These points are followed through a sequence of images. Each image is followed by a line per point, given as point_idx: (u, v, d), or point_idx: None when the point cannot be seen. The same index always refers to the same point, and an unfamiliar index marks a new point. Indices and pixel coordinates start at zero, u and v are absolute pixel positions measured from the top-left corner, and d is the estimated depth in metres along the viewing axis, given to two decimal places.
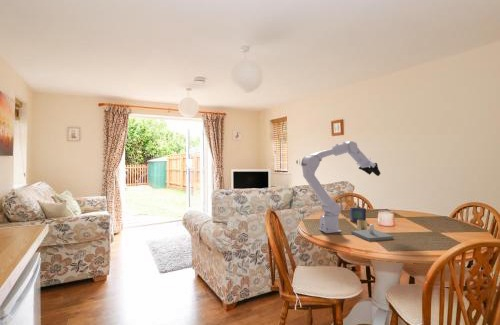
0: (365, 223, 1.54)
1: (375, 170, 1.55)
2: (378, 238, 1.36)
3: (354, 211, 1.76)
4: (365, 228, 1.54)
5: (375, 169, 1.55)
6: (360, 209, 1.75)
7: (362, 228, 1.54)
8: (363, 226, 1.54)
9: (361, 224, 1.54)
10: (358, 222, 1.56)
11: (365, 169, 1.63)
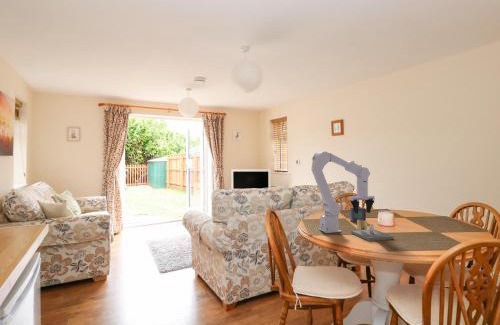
0: (365, 223, 1.54)
1: (355, 206, 1.55)
2: (378, 238, 1.36)
3: None
4: (365, 228, 1.54)
5: (355, 206, 1.55)
6: (360, 209, 1.75)
7: (362, 228, 1.54)
8: (363, 226, 1.54)
9: (361, 224, 1.54)
10: (358, 222, 1.56)
11: (367, 204, 1.58)
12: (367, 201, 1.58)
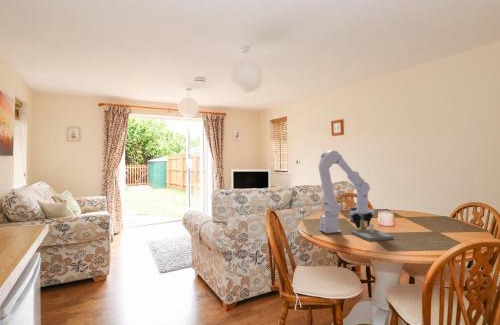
0: (365, 223, 1.54)
1: (356, 220, 1.56)
2: (378, 238, 1.36)
3: None
4: (365, 228, 1.54)
5: None
6: None
7: (362, 228, 1.54)
8: (363, 226, 1.54)
9: (361, 224, 1.54)
10: None
11: (365, 219, 1.58)
12: (366, 215, 1.58)
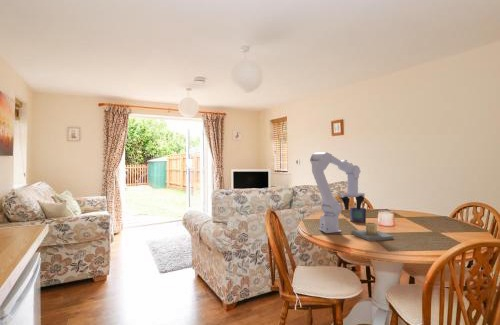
0: (375, 226, 1.41)
1: (345, 203, 1.61)
2: (378, 238, 1.36)
3: (354, 211, 1.76)
4: (375, 232, 1.41)
5: None
6: (360, 209, 1.75)
7: (371, 232, 1.41)
8: (372, 229, 1.40)
9: (370, 227, 1.41)
10: (367, 225, 1.42)
11: (357, 201, 1.63)
12: (357, 198, 1.63)
